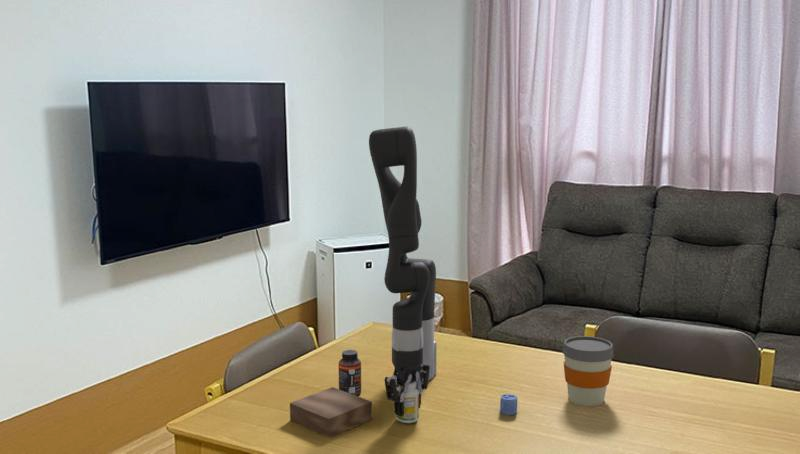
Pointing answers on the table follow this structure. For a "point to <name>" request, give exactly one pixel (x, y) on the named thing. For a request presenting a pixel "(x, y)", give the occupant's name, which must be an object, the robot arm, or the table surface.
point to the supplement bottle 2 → (410, 404)
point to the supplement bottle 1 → (350, 372)
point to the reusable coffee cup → (587, 369)
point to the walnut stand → (330, 411)
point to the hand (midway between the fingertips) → (407, 411)
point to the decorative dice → (508, 404)
